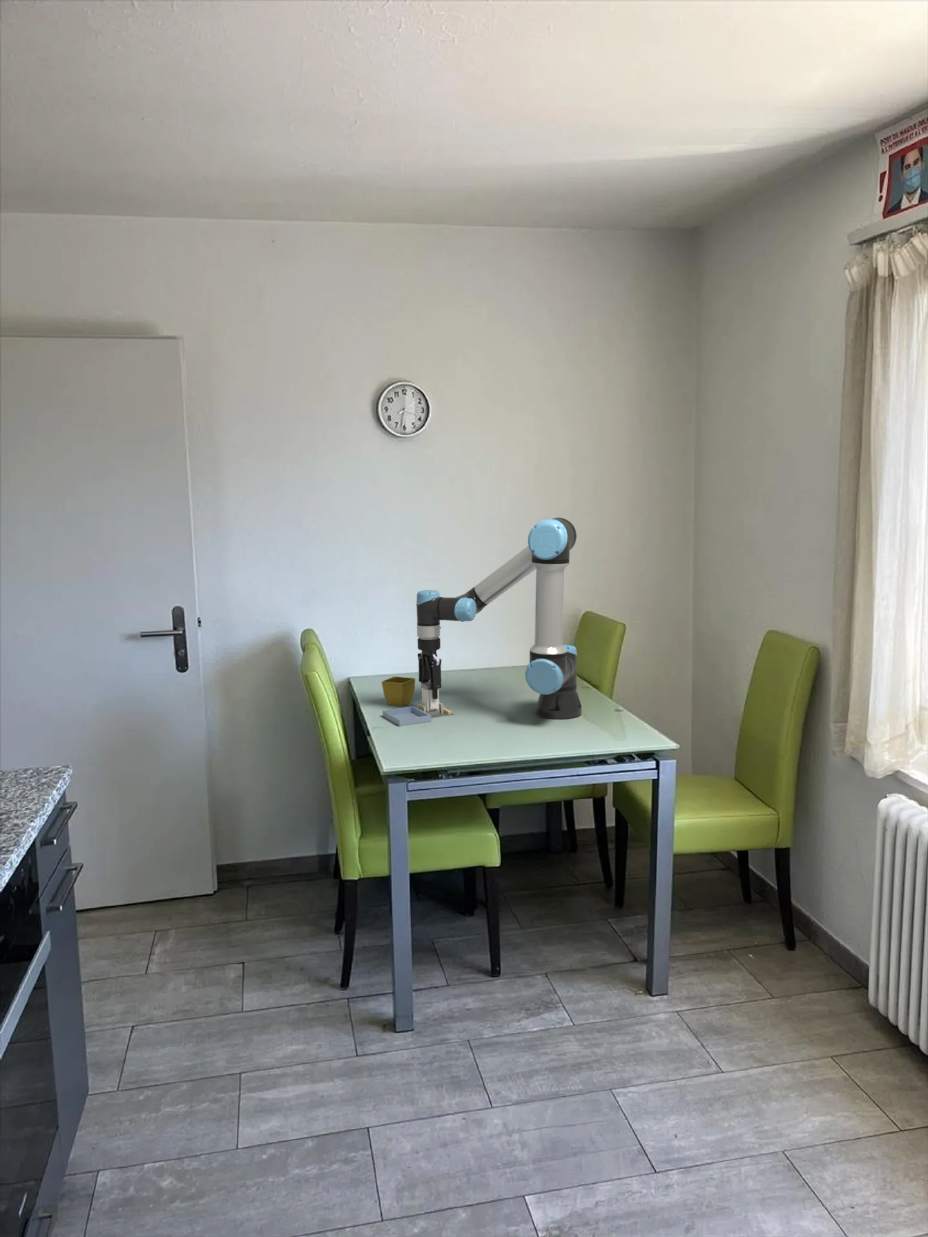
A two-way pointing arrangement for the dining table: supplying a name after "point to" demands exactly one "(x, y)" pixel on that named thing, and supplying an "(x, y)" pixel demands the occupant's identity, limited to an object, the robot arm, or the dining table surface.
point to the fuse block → (442, 711)
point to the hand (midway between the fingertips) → (430, 706)
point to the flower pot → (398, 690)
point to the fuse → (428, 699)
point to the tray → (406, 716)
